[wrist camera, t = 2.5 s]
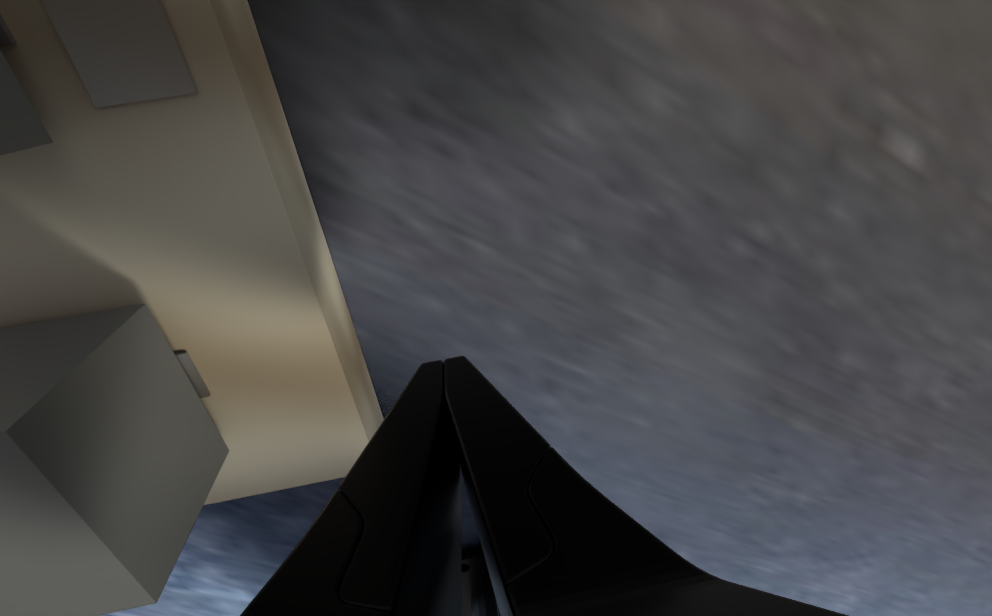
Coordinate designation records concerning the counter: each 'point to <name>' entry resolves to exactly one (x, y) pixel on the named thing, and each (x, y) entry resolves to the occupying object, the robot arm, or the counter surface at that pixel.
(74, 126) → the switch panel
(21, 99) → the tab middle
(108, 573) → the grey boxy piece
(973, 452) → the counter surface
